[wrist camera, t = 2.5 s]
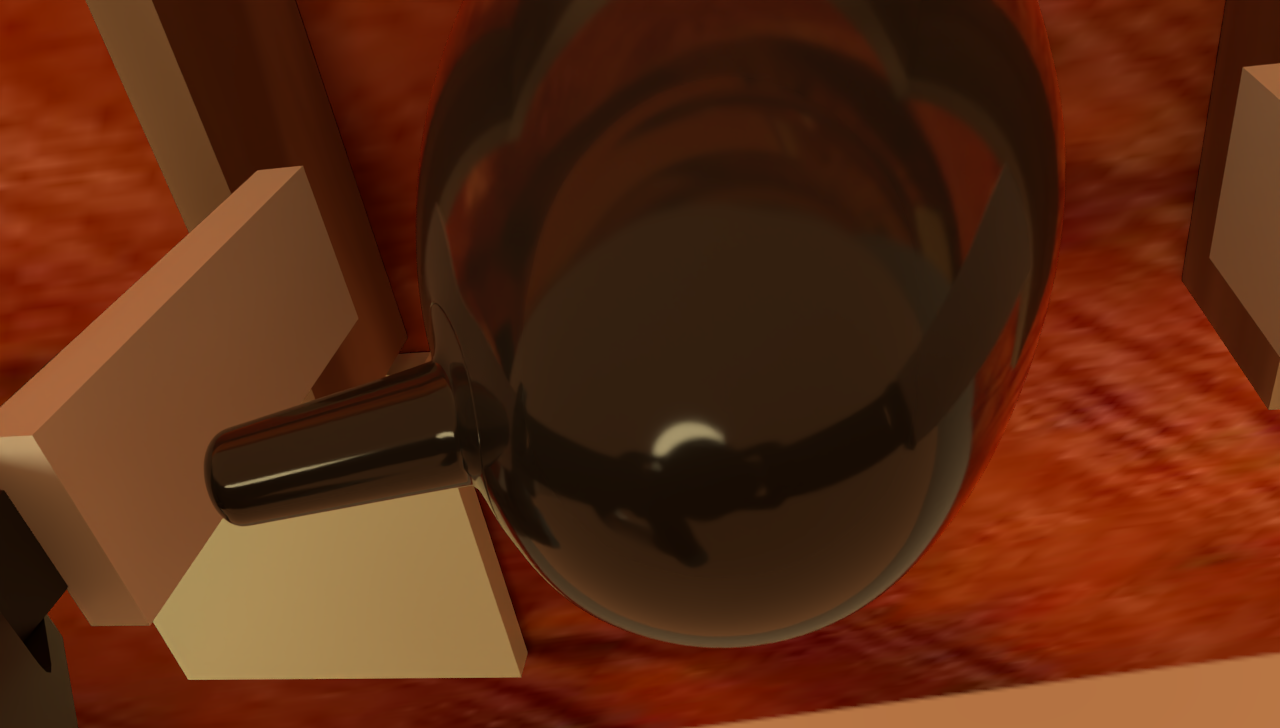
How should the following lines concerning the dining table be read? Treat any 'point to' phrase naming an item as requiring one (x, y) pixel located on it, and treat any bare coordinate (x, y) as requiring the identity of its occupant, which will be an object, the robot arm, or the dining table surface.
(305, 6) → the dining table surface
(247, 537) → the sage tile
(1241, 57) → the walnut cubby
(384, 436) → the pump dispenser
